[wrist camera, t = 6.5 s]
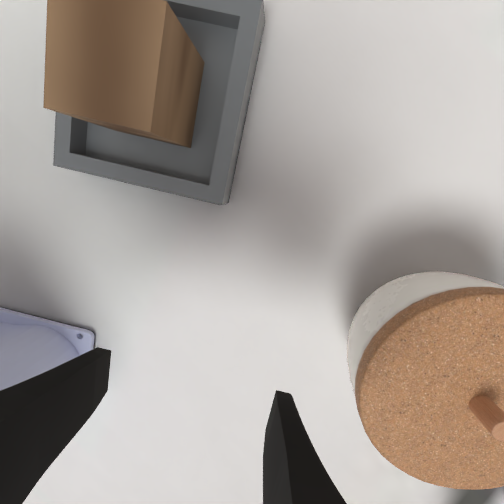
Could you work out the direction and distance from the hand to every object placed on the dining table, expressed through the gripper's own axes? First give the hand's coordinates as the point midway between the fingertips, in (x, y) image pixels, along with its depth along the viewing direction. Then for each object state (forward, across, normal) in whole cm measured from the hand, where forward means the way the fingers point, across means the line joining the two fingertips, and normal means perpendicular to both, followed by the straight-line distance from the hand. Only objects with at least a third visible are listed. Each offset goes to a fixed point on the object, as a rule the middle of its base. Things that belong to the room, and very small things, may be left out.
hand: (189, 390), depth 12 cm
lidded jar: (+10, -13, -1) cm, 17 cm away
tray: (+10, +7, -13) cm, 17 cm away
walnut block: (+9, +7, -12) cm, 17 cm away
